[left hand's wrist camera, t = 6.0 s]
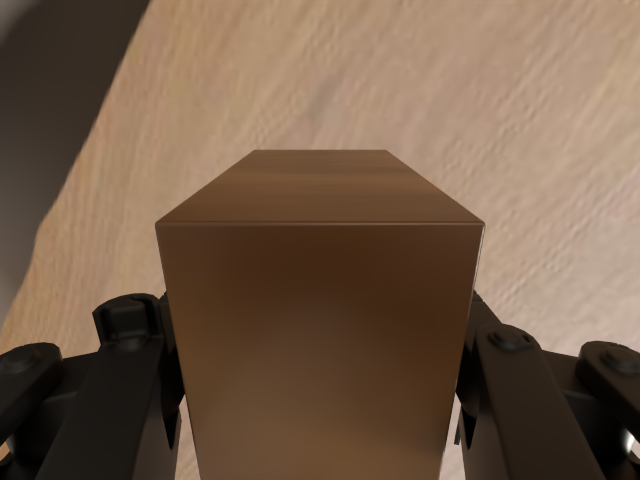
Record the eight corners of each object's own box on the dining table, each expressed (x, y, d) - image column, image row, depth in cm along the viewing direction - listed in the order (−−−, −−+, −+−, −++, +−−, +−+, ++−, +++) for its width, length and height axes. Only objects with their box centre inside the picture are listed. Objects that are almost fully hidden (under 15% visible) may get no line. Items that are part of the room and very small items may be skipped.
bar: (253, 149, 13) (152, 222, 5) (386, 149, 13) (487, 222, 5) (279, 537, 22) (255, 789, 14) (360, 537, 22) (384, 789, 14)
